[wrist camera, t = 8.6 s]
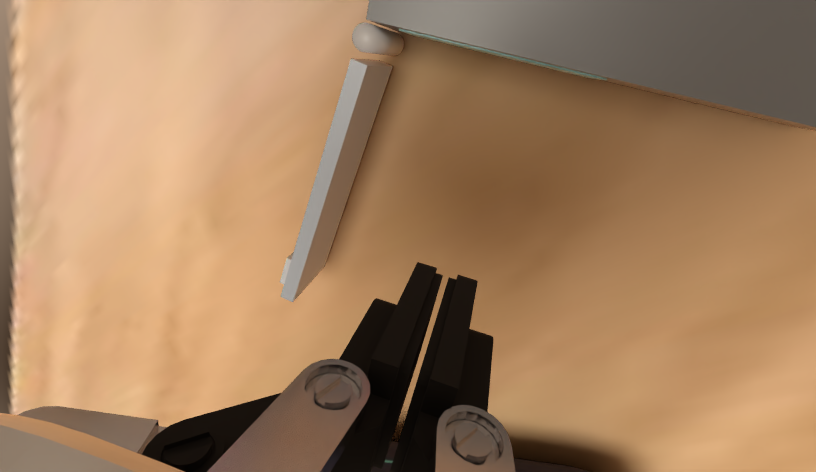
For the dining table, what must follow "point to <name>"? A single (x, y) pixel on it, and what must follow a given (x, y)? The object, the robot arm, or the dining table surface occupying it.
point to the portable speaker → (523, 468)
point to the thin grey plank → (336, 172)
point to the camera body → (634, 45)
